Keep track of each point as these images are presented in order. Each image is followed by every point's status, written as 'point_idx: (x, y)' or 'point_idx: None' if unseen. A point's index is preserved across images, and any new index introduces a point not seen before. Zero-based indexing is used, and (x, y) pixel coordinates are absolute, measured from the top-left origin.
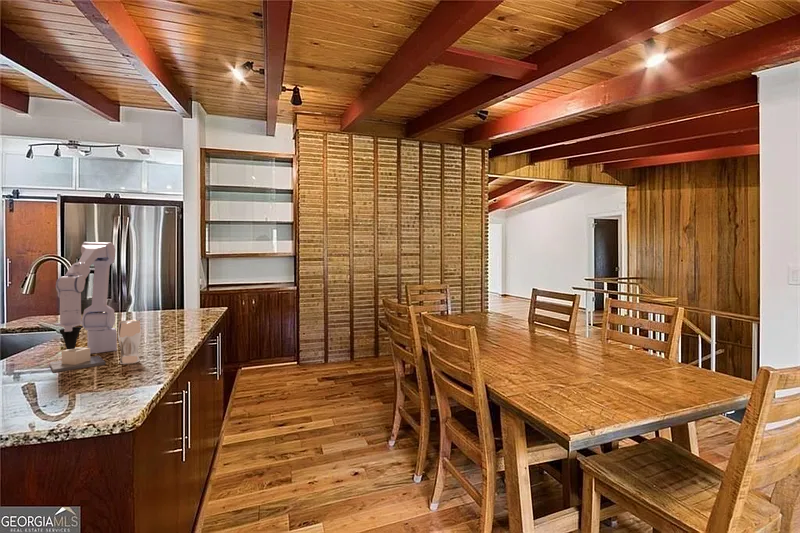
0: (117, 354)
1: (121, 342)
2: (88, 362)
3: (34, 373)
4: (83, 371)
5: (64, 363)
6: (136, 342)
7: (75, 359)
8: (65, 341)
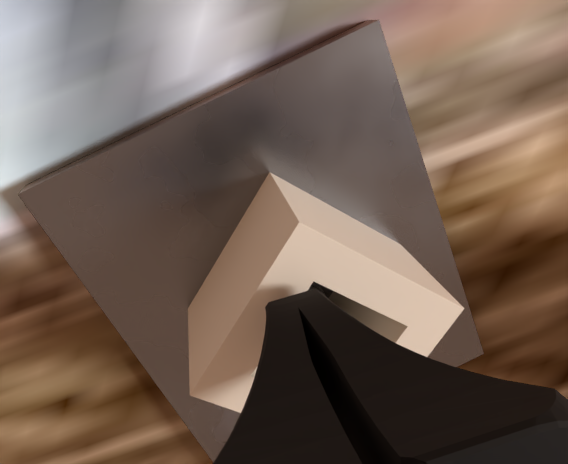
0: None
1: None
2: None
3: (22, 3)
4: (25, 405)
5: (252, 202)
6: None
7: (191, 337)
8: (261, 375)
